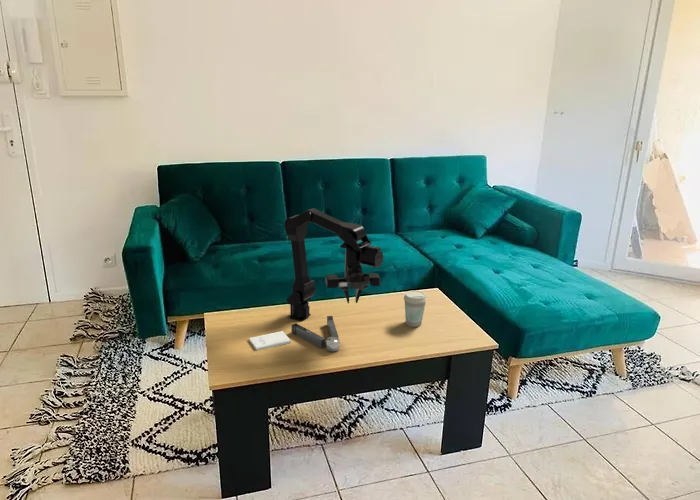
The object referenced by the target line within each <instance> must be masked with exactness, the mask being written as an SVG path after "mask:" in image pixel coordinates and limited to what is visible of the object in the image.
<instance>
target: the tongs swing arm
mask: <svg viewBox="0 0 700 500" xmlns="http://www.w3.org/2000/svg"><path fill="white" fill-rule="evenodd" d="M326 325H327V328H328V331H329V333H330V336H329V337H327V338H325V350H326V351H328V352H337V351H338V350H340V338H339V334H338V331H337V328H336V324H335V321H334V316H333V315H327V316H326Z"/></svg>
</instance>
